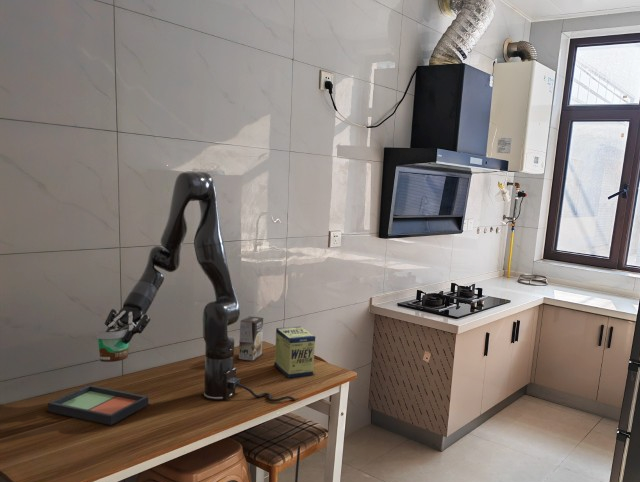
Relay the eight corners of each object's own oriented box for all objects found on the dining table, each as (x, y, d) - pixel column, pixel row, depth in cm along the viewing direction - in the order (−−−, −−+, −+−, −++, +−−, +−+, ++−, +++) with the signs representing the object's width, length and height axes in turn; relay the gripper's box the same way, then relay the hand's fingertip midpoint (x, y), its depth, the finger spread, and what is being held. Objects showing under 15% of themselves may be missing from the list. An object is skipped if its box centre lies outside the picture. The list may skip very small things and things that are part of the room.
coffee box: (253, 361, 222) (254, 322, 219) (238, 359, 223) (239, 320, 220) (261, 354, 231) (263, 317, 228) (247, 352, 232) (249, 315, 229)
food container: (114, 365, 170) (113, 334, 168) (96, 362, 171) (96, 331, 169) (140, 354, 182) (140, 325, 180) (124, 351, 183) (124, 322, 181)
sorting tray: (148, 404, 174) (148, 396, 174) (111, 425, 159) (110, 416, 158) (89, 392, 179) (89, 384, 178) (48, 411, 164) (47, 402, 163)
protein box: (288, 378, 207) (290, 338, 204) (273, 364, 220) (275, 327, 217) (313, 375, 213) (316, 336, 210) (298, 362, 225) (300, 325, 223)
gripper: (116, 288, 181) (89, 331, 172) (154, 294, 178) (128, 338, 169) (128, 300, 187) (102, 343, 178) (165, 306, 184) (140, 350, 175)
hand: (115, 340), depth 174 cm, fingers closed on food container, 6 cm apart
